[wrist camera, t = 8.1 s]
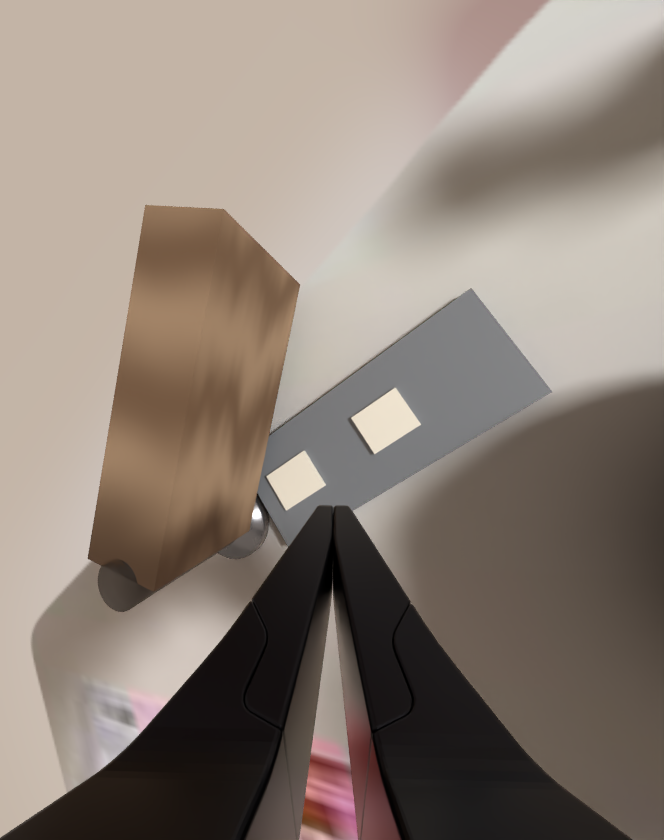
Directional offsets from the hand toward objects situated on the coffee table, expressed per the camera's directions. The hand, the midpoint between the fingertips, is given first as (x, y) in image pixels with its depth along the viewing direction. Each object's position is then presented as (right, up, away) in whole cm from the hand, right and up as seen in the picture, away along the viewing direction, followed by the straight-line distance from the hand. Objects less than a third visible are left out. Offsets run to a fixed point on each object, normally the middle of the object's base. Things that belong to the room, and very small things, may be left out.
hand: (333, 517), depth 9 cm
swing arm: (-6, +3, +12) cm, 14 cm away
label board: (+3, +2, +11) cm, 12 cm away
